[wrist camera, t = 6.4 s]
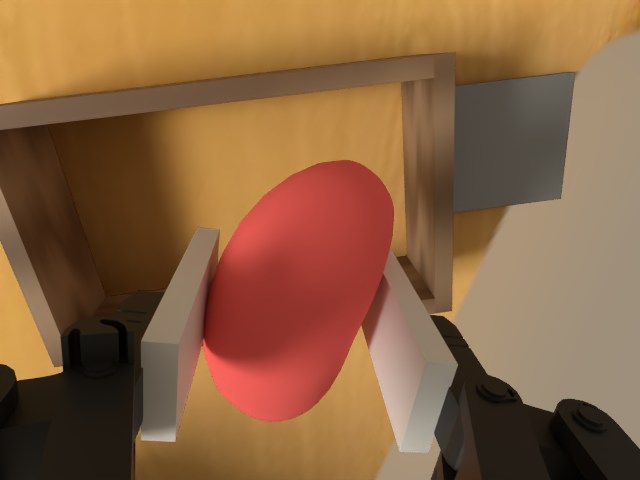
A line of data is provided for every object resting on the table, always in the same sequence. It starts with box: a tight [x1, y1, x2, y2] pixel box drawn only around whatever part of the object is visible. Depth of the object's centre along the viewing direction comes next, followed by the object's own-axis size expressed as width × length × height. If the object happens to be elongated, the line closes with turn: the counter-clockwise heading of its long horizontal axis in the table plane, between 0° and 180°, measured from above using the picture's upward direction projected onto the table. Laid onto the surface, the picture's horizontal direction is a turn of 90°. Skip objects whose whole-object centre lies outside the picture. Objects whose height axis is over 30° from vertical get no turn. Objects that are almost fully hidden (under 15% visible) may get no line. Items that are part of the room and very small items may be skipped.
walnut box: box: [0, 53, 455, 367], centre depth 25 cm, size 14×23×6 cm, turn 96°
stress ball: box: [203, 160, 394, 422], centre depth 14 cm, size 5×9×6 cm
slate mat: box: [453, 72, 575, 213], centre depth 28 cm, size 8×8×1 cm
